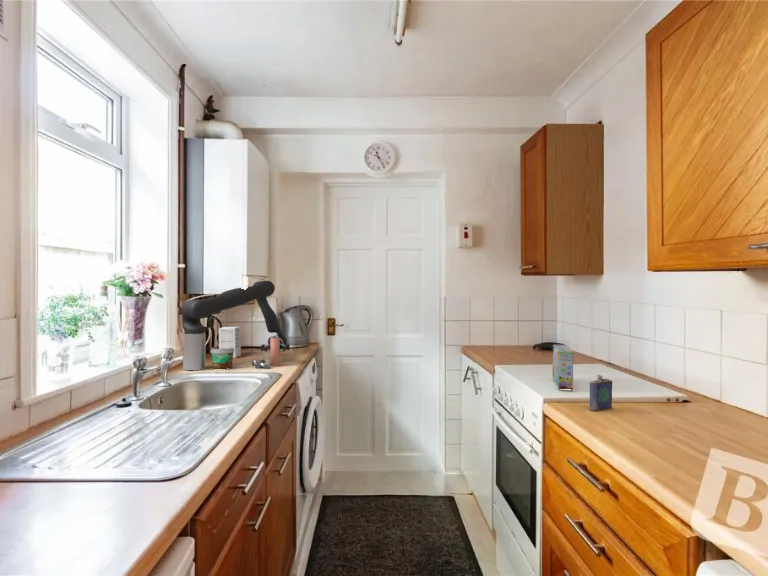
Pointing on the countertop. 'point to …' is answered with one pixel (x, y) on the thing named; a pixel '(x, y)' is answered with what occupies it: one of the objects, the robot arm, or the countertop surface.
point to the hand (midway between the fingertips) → (274, 349)
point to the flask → (600, 394)
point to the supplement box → (230, 339)
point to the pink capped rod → (274, 351)
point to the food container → (222, 358)
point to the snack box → (563, 366)
